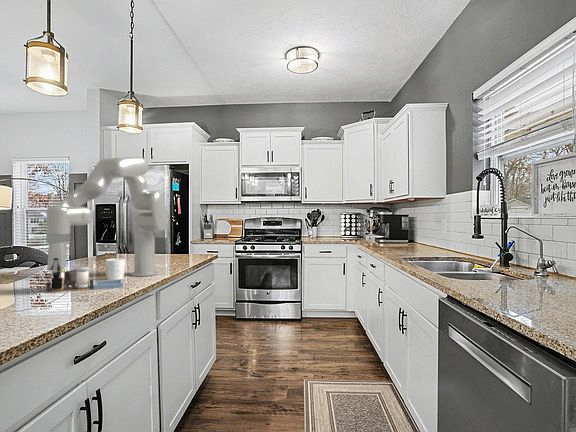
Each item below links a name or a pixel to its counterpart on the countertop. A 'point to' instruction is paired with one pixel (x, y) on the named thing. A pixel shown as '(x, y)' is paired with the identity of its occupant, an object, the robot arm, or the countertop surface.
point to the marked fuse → (62, 280)
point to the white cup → (115, 268)
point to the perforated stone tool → (70, 276)
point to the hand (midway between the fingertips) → (57, 287)
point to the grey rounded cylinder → (82, 277)
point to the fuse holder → (67, 288)
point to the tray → (108, 284)
